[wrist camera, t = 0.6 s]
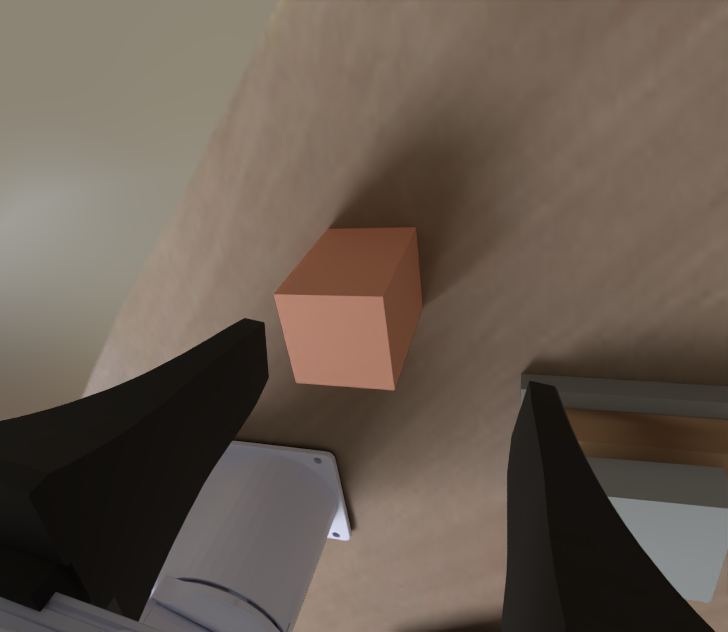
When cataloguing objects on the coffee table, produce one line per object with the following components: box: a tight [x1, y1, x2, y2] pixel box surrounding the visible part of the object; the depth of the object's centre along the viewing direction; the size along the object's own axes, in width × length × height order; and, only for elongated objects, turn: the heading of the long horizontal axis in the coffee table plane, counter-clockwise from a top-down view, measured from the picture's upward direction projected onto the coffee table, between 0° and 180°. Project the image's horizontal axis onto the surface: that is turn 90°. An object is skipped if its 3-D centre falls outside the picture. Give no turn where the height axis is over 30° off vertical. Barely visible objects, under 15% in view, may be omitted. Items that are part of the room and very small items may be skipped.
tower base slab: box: [520, 374, 728, 420], centre depth 25 cm, size 9×9×2 cm
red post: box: [274, 227, 423, 390], centre depth 21 cm, size 4×4×6 cm
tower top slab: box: [586, 457, 728, 603], centre depth 22 cm, size 6×6×2 cm
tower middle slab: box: [564, 408, 728, 478], centre depth 24 cm, size 8×8×2 cm
